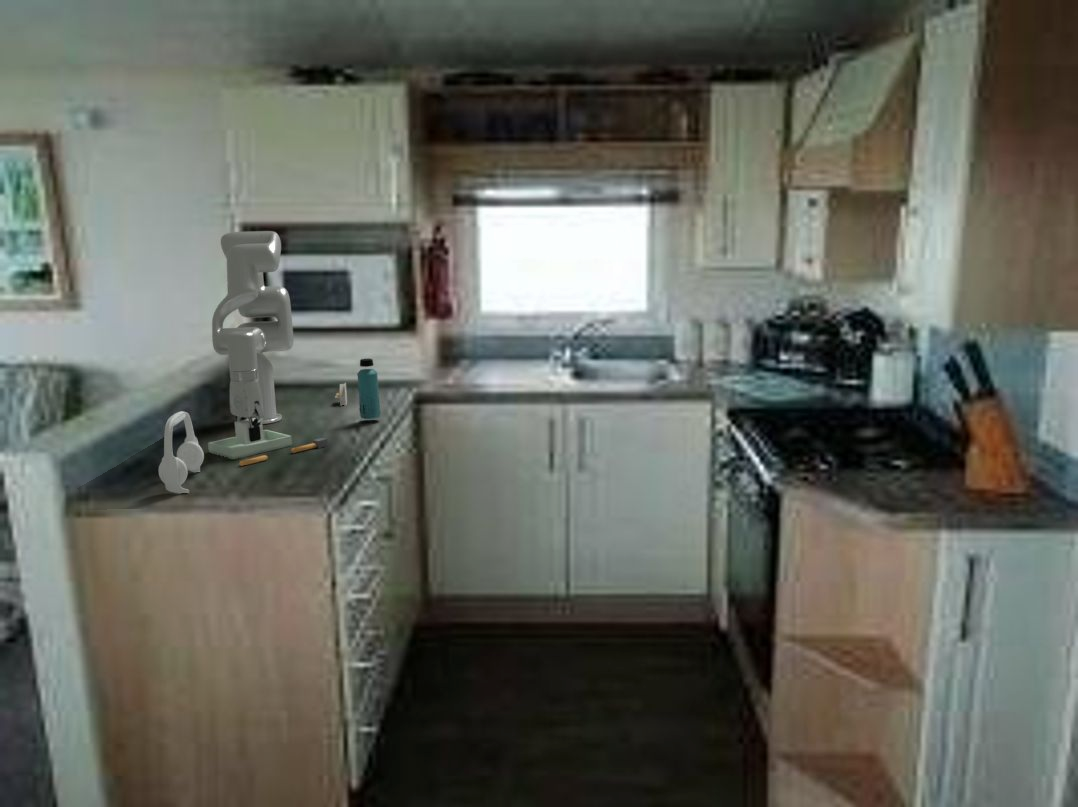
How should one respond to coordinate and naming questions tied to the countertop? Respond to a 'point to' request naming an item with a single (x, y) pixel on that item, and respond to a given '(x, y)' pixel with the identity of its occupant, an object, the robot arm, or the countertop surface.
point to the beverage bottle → (368, 391)
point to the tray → (249, 445)
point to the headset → (179, 455)
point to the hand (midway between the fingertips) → (250, 438)
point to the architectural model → (342, 394)
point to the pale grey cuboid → (246, 432)
